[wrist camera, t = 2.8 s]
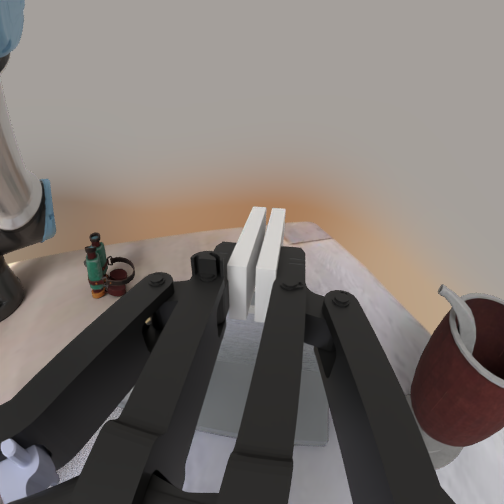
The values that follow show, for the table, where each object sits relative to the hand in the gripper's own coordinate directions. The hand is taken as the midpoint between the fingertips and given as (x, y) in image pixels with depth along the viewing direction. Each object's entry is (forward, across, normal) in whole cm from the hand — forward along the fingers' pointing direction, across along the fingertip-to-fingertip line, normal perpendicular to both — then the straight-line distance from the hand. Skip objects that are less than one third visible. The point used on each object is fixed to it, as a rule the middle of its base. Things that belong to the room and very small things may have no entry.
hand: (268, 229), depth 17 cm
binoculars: (+21, -31, -24) cm, 45 cm away
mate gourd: (-1, +21, -24) cm, 32 cm away
